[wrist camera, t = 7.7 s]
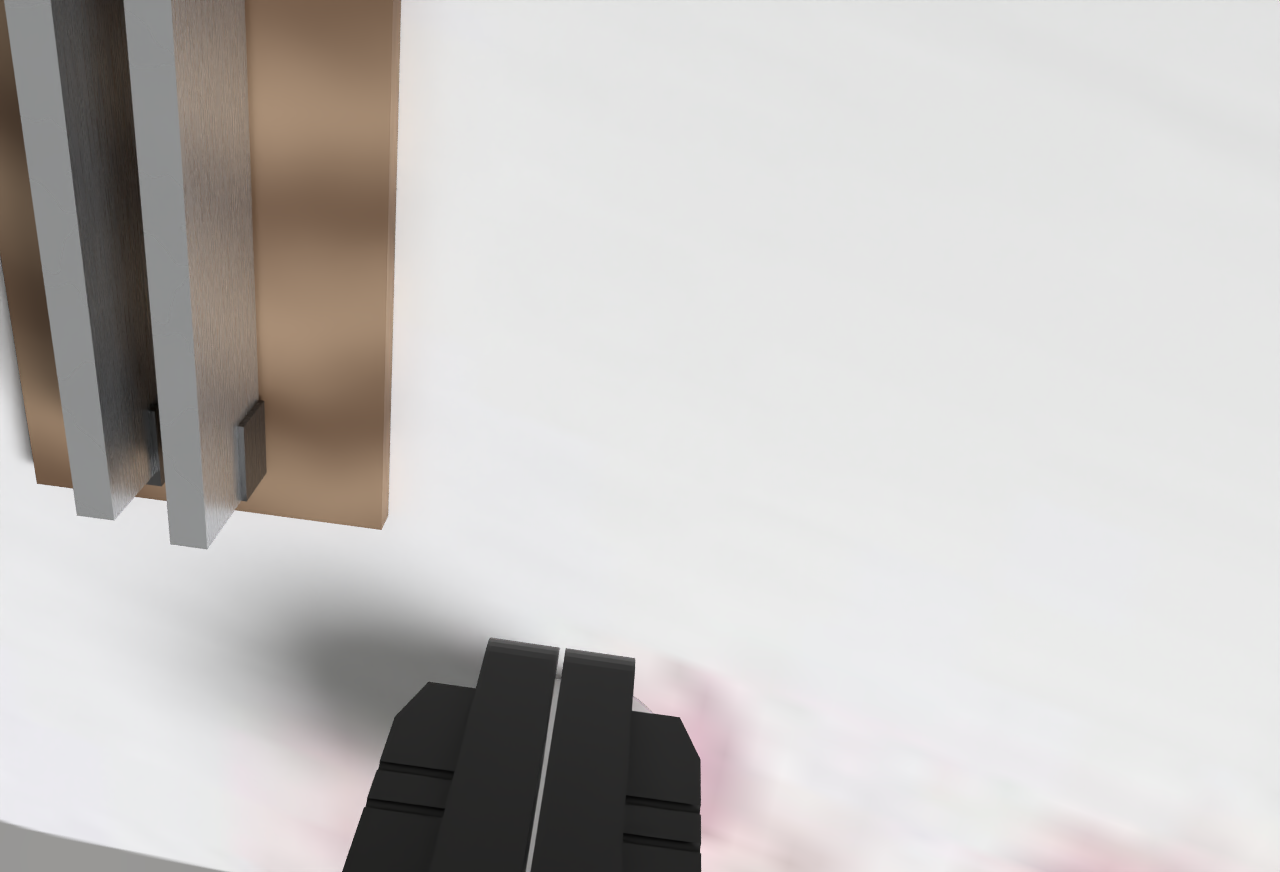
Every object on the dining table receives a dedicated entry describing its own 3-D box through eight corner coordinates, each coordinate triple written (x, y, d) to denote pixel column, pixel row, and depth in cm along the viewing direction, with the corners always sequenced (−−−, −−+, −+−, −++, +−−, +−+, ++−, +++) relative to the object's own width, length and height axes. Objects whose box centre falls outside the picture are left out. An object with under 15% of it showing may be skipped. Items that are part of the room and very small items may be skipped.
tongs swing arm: (189, -148, 30) (102, -149, 25) (246, -139, 30) (170, -139, 25) (223, 466, 39) (164, 543, 35) (266, 472, 39) (213, 550, 35)
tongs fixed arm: (61, -316, 28) (-84, -358, 23) (210, -294, 28) (99, -329, 23) (141, 452, 39) (56, 544, 34) (247, 466, 39) (179, 560, 34)
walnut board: (-75, -358, 29) (-100, -365, 28) (407, -282, 29) (399, -287, 28) (50, 470, 41) (37, 483, 40) (388, 515, 41) (381, 529, 40)
